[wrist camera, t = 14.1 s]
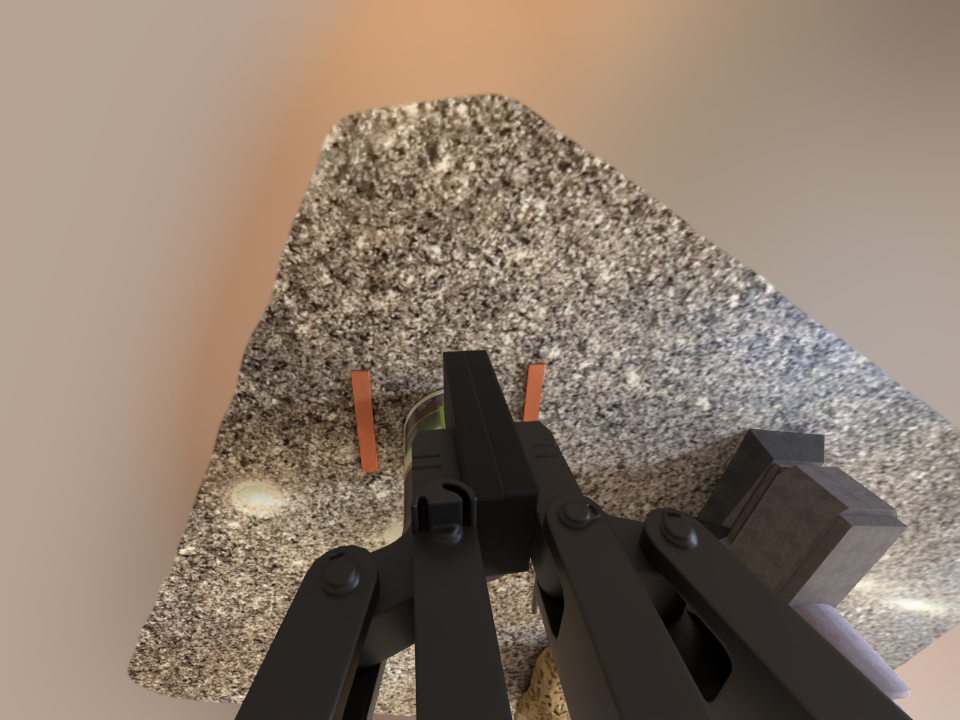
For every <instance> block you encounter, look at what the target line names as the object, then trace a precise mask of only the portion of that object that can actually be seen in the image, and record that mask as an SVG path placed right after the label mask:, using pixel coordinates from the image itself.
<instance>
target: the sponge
mask: <svg viewBox="0 0 960 720" xmlns="http://www.w3.org/2000/svg"><path fill="white" fill-rule="evenodd" d="M515 710H516V712H515V714H514V720H571V718H570V715H569V711H568V708H567V704H566V701H565V697H564V694H563V690H562V687H561V683H560V680H559V676H558V673H557V669H556V666H555V662H554V659H553V655H552V652H551V648H550V646H549V647H547V648H545V649H544V650H543V652H542V653H541V654H540V656H539V657H538V658H537V661H536V664H535V667H534V670H533V673H532V679H531V685H530V687H529V688H528V690H527V691H526V692H525V693H524V694H522V695H521V696H520V697H519V699H518V702H517V705H516V709H515Z"/></svg>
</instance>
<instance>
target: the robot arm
mask: <svg viewBox="0 0 960 720" xmlns="http://www.w3.org/2000/svg"><path fill="white" fill-rule="evenodd" d="M443 371H444V419H445V426H446V429H432V430H419V431H418V432H417V434H416V436H415V438H414V439H413V441H412V443H411V444H412V492H413V498H412V502H411V520H412V521H411V523H410V526H409V528H408V529H407V530H406V532H405V533H404V534H403V535H402V536H401V537H400V538H399V539H398V540H396V541H395V542H393V543H391V544H389V545H388V546H385V547H383V548H381V549H378V550H376V551H374V552H371V553H370V552H369V551H368V550H366V549H365V548H362V547H358V546H355V545H351V546H340V547H338V548H335V549H333V550H330V551H328V552H326V553H325V554H323V555H322V556H321V557H320V558H318V559H317V560H316V561H315V562H314V563H313V564H312V566H311V567H310V569H309V570H308V571H307V573H306V575H305V577H304V579H303V581H302V583H301V585H300V587H299V589H298V591H297V593H296V595H295V597H294V599H293V601H292V603H291V605H290V608H289V610H288V612H287V614H286V616H285V618H284V620H283V622H282V624H281V626H280V628H279V630H278V632H277V634H276V636H275V638H274V640H273V642H272V644H271V646H270V648H269V650H268V652H267V654H266V657H265V659H264V661H263V663H262V665H261V667H260V669H259V671H258V673H257V675H256V677H255V679H254V681H253V683H252V685H251V687H250V689H249V691H248V693H247V695H246V697H245V699H244V701H243V703H242V706H241V708H240V710H239V712H238V714H237V716H236V718H235V720H372V717H373V713H374V709H375V705H376V701H377V697H378V693H379V689H380V685H381V681H382V677H383V673H384V669H385V665H386V661H387V658H389V657H391V656H393V655H395V654H397V653H398V652H400V651H402V650H404V649H406V648H408V647H409V646H411V645H413V644H415V672H416V718H417V720H512V715H511V710H510V704H509V699H508V694H507V688H506V683H505V678H504V672H503V667H502V662H501V656H500V651H499V646H498V641H497V635H496V630H495V625H494V619H493V614H492V609H491V603H490V598H489V593H488V587H487V582H486V577H489V576H496V575H504V574H511V573H519V572H526V571H529V564H530V557H531V560H532V564H533V567H534V570H535V574H536V577H535V584H534V591H533V597H532V604H531V605H532V614H537V609H538V606H539V610H540V613H541V617H542V620H543V624H544V627H545V631H546V634H547V638H548V641H549V645H550V648H551V652H552V655H553V659H554V662H555V666H556V669H557V673H558V676H559V680H560V683H561V687H562V690H563V694H564V697H565V701H566V704H567V708H568V711H569V715H570V718H571V720H913V719H912V718H910V717H909V716H908V715H907V714H906V713H905V712H904V711H903V710H902V709H901V708H900V707H899V706H897V705H896V704H895V703H894V702H893V701H892V700H891V699H890V698H889V697H888V696H887V695H886V694H884V693H883V692H882V691H881V690H880V689H879V688H878V687H877V686H876V685H875V684H874V683H873V682H872V681H870V680H869V679H868V678H867V677H866V676H865V675H864V674H863V673H862V672H861V671H860V670H859V669H857V668H856V667H855V666H854V665H853V664H852V663H851V662H850V661H849V660H848V659H847V658H846V657H845V656H843V655H842V654H841V653H840V652H839V651H838V650H837V649H836V648H835V647H834V646H833V645H832V644H830V643H829V642H828V641H827V640H826V639H825V638H824V637H823V636H822V635H821V634H820V633H819V632H818V631H816V630H815V629H814V628H813V627H812V626H811V625H810V624H809V623H808V622H807V621H806V620H805V619H803V618H802V617H801V616H800V615H799V614H798V613H797V612H796V611H795V610H794V609H793V608H792V607H791V606H789V605H788V604H787V603H786V602H785V601H784V600H783V599H782V598H781V597H780V596H779V595H778V594H776V593H775V592H774V591H773V590H772V589H771V588H770V587H769V586H768V585H767V584H766V583H765V582H763V581H762V580H761V579H760V578H759V577H758V576H757V575H756V574H755V573H754V572H753V571H752V570H751V569H749V568H748V567H747V566H746V565H745V564H744V563H743V562H742V561H741V560H740V559H739V558H738V557H736V556H735V555H734V554H733V553H732V552H731V551H730V550H729V549H728V548H727V547H726V546H725V545H724V544H722V543H721V542H720V541H719V540H718V539H717V538H716V537H715V536H714V535H713V534H712V533H711V532H709V531H708V530H707V529H706V528H705V527H704V526H703V525H702V524H701V523H700V522H698V521H697V520H695V519H694V518H693V517H691V516H690V515H688V514H686V513H683V512H681V511H679V510H675V509H669V508H660V509H654V510H653V511H651V512H650V513H648V514H647V516H646V519H645V522H642V521H636V520H630V519H624V518H618V517H614V516H610V515H608V514H605V513H604V512H603V510H602V509H601V508H600V507H599V505H598V504H597V503H595V502H594V501H592V500H591V499H589V498H588V497H585V496H583V494H582V492H581V490H580V488H579V486H578V484H577V482H576V480H575V478H574V476H573V475H572V473H571V471H570V469H569V467H568V465H567V463H566V461H565V459H564V457H563V456H562V453H561V451H560V449H559V447H558V446H557V443H556V441H555V439H554V437H553V435H552V433H551V431H550V430H549V429H548V428H547V427H545V426H544V425H543V424H542V423H541V422H539V421H524V422H514V421H513V418H512V416H511V413H510V411H509V408H508V406H507V403H506V400H505V398H504V395H503V393H502V390H501V388H500V385H499V382H498V380H497V377H496V375H495V372H494V370H493V367H492V365H491V362H490V359H489V357H488V354H487V352H486V350H477V351H455V352H443Z"/></svg>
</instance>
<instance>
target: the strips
mask: <svg viewBox="0 0 960 720" xmlns="http://www.w3.org/2000/svg"><path fill="white" fill-rule="evenodd" d="M544 367H545V364H544V363H538V364H529V366H528V375H527V385H526V394H525V404H524V413H523V422H524V421H538V415H539V407H540V399H541V391H542V383H543V375H544ZM351 379H352V387H353V396H354V404H355V413H356V421H357V430H358V438H359V447H360V455H361V464H362V472H373V471H378V462H377V452H376V441H375V430H374V420H373V409H372V398H371V388H370V377H369V370H361V371H351Z"/></svg>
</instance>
